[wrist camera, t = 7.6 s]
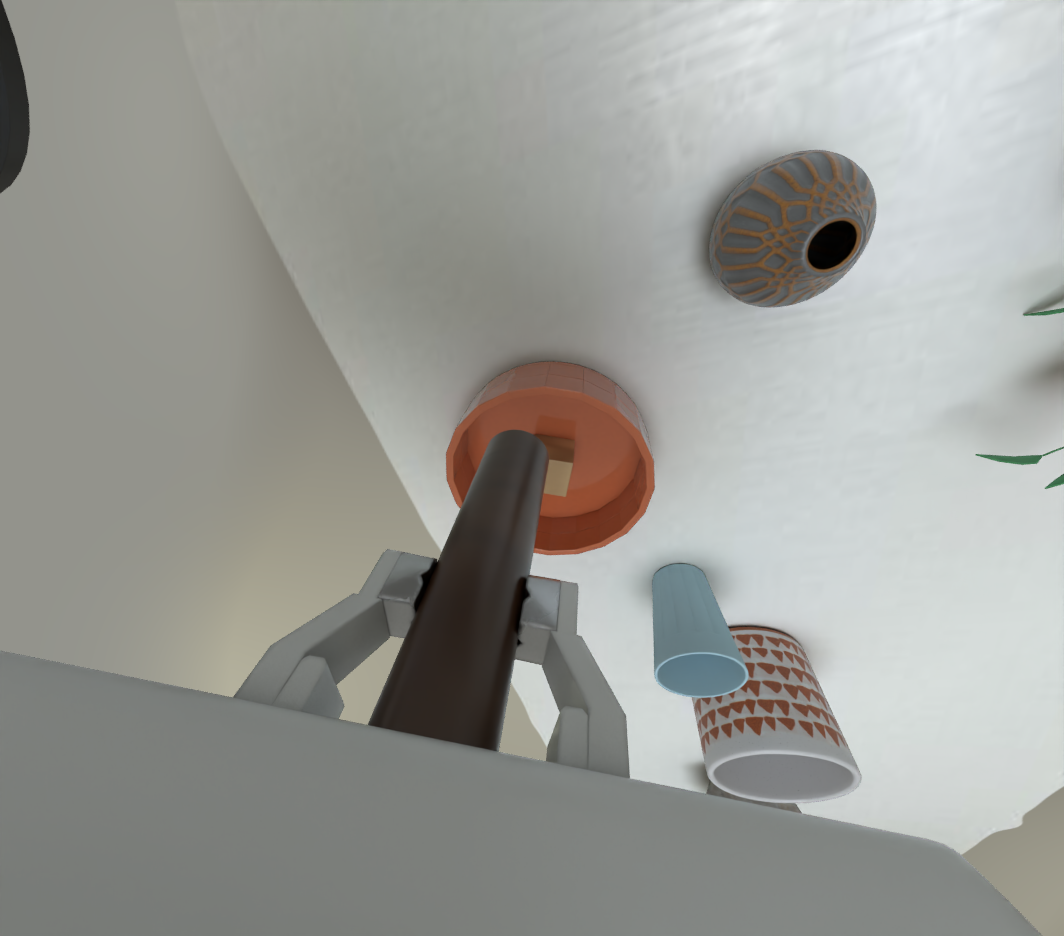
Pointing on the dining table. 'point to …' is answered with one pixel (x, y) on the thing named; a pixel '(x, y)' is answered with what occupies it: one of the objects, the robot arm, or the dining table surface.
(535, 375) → the bowl
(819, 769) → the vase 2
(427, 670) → the dark brown cylinder
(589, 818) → the robot arm
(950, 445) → the dining table surface
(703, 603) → the cup
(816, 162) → the vase
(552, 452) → the block
